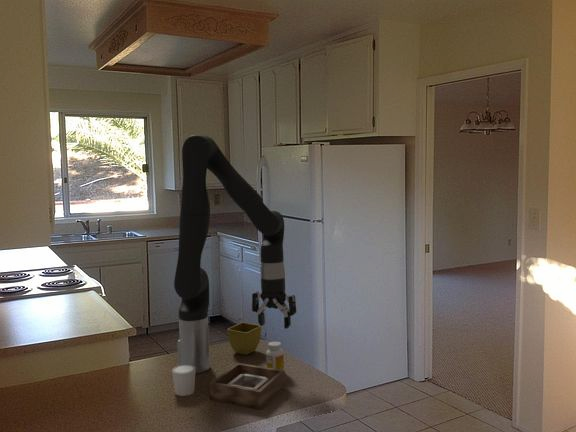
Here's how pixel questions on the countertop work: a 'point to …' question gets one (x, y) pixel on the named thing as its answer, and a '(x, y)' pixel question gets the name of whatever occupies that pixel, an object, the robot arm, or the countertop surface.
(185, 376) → the white cup
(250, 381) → the walled box
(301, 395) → the countertop surface
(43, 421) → the countertop surface
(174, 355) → the countertop surface
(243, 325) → the flower pot
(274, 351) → the supplement bottle
